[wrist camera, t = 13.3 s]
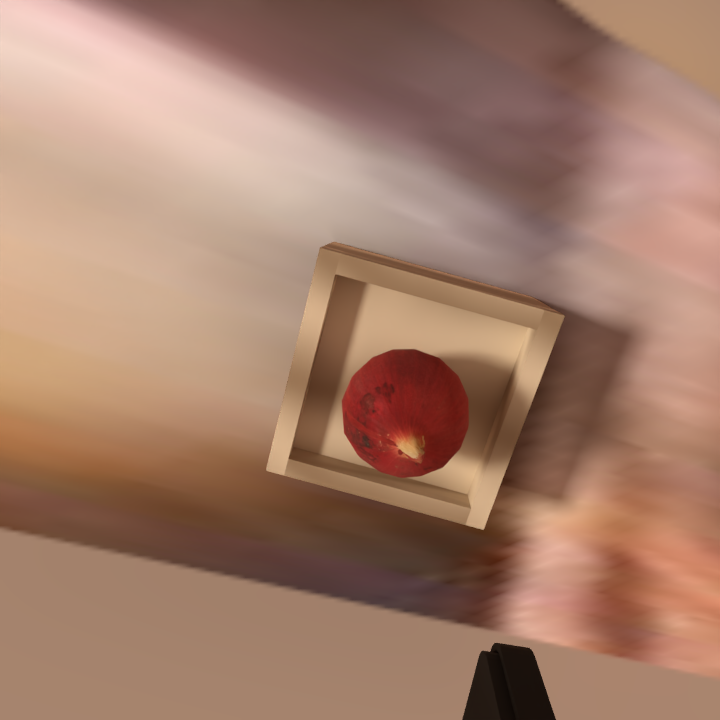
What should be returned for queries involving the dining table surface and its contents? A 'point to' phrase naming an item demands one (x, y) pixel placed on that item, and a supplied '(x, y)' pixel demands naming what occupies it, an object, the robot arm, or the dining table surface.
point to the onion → (405, 413)
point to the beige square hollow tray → (424, 333)
